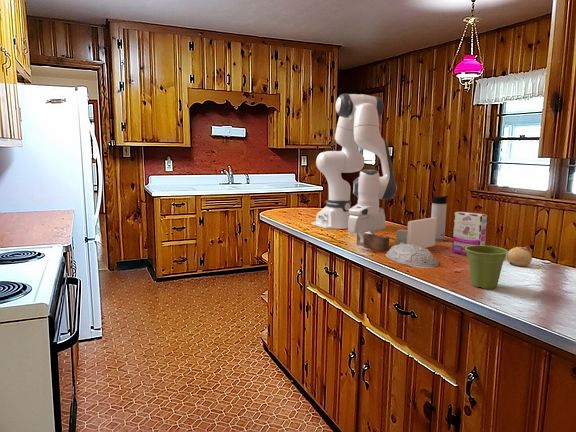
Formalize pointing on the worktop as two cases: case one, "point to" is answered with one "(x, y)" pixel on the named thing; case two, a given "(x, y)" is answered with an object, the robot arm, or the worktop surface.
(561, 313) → the worktop surface
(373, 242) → the rail
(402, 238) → the post block
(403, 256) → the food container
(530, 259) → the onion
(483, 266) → the plant pot
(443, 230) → the travel mug
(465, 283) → the worktop surface
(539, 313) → the worktop surface
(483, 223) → the candy bar box
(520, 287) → the worktop surface
